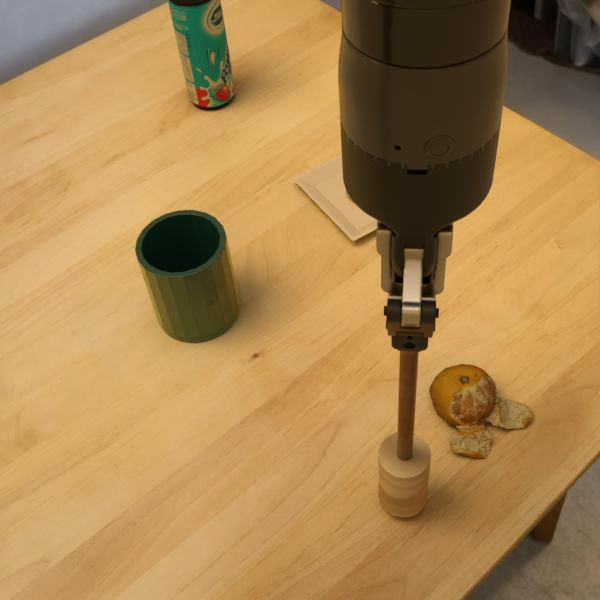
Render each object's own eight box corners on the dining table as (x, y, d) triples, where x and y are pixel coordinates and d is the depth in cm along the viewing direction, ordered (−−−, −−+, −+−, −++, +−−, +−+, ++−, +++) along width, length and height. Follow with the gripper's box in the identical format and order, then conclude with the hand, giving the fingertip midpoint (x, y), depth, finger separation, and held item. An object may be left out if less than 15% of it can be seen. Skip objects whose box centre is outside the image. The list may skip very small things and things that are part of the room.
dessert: (292, 185, 97) (289, 153, 93) (378, 142, 100) (378, 109, 96) (353, 248, 90) (351, 216, 86) (443, 200, 93) (445, 167, 90)
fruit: (468, 470, 73) (471, 449, 70) (405, 404, 77) (406, 382, 75) (538, 418, 76) (544, 396, 73) (473, 358, 80) (476, 334, 77)
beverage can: (221, 116, 105) (201, 8, 94) (180, 105, 107) (156, -2, 96) (244, 88, 108) (227, -20, 97) (204, 78, 110) (183, -29, 99)
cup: (203, 356, 83) (184, 291, 75) (140, 318, 86) (116, 252, 78) (256, 299, 86) (244, 232, 79) (194, 265, 90) (177, 197, 82)
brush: (410, 526, 69) (424, 314, 48) (369, 500, 71) (364, 284, 49) (436, 489, 71) (460, 268, 49) (395, 465, 73) (401, 241, 51)
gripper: (351, 20, 44) (358, 245, 58) (325, 208, 36) (340, 421, 49) (498, 20, 44) (470, 249, 57) (508, 214, 35) (472, 429, 48)
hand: (410, 328), depth 53 cm, fingers closed on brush, 2 cm apart
